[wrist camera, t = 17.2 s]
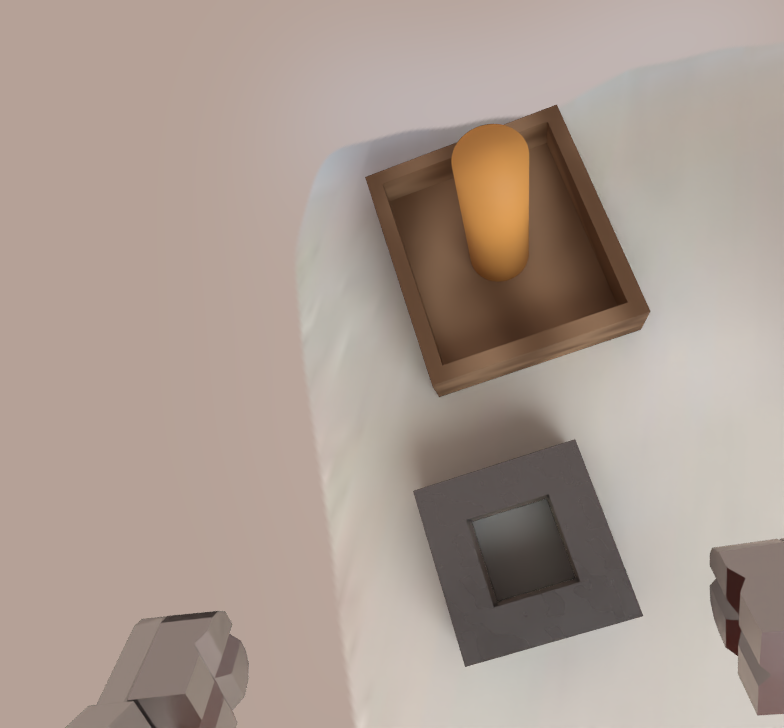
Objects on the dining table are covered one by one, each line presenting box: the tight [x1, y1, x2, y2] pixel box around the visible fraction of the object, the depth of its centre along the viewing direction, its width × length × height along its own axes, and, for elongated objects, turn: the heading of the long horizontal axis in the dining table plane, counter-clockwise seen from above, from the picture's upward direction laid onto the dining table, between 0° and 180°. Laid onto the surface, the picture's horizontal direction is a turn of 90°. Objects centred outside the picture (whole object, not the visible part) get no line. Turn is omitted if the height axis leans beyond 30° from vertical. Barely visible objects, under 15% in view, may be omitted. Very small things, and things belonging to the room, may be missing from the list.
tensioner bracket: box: [413, 440, 643, 667], centre depth 39 cm, size 10×10×4 cm
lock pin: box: [451, 124, 529, 282], centre depth 39 cm, size 4×4×12 cm
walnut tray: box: [365, 105, 650, 397], centre depth 44 cm, size 14×16×4 cm
